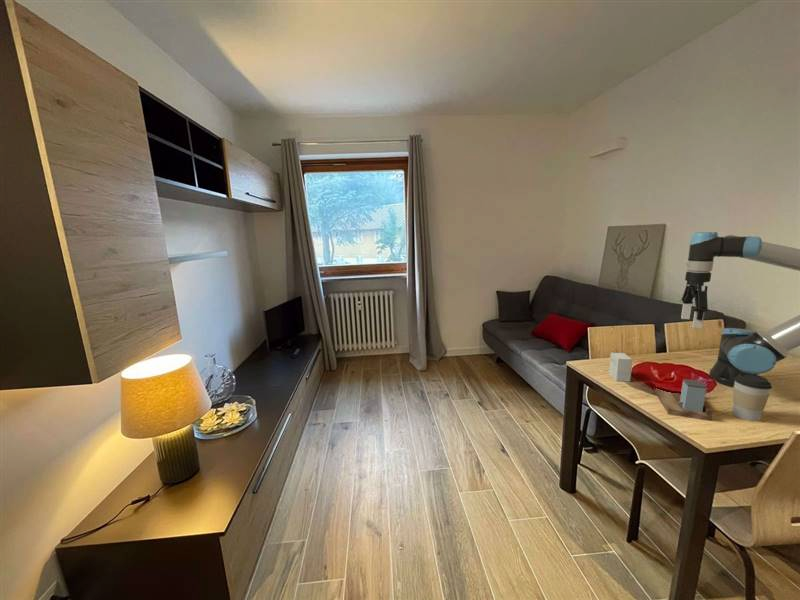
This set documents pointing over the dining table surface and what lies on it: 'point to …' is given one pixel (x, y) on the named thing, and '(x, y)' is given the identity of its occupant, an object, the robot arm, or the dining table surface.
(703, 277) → the robot arm
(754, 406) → the coffee cup
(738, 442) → the dining table surface
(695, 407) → the grey tall block
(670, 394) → the board
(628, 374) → the small box
